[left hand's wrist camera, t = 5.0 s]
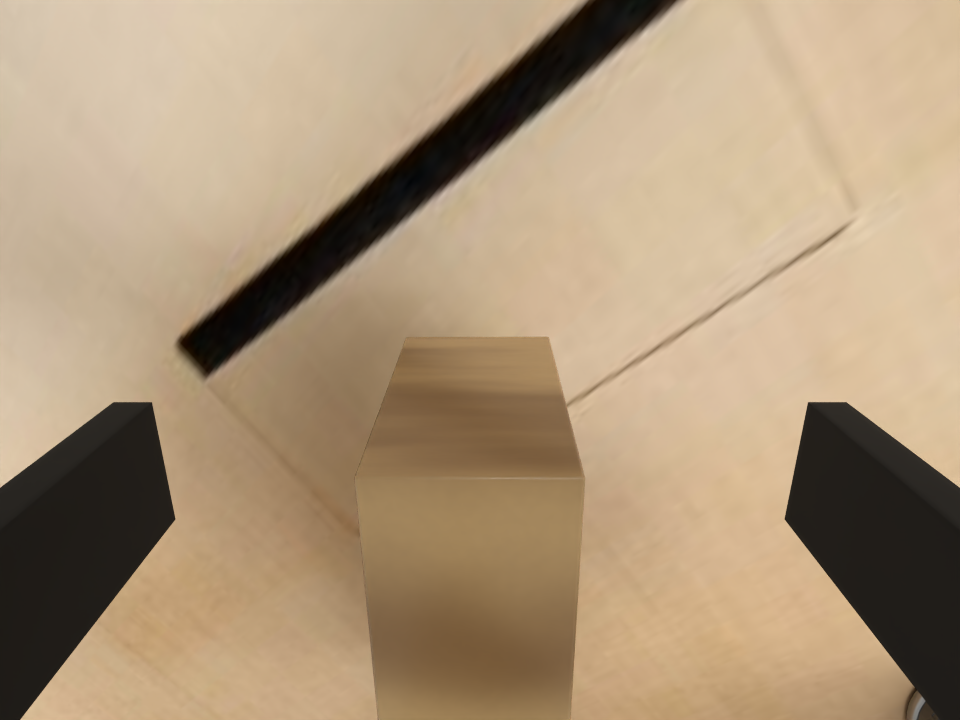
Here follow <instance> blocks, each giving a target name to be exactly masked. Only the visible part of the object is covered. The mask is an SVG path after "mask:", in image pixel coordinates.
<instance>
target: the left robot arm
mask: <svg viewBox="0 0 960 720" xmlns="http://www.w3.org/2000/svg"><path fill="white" fill-rule="evenodd" d="M174 520H175V515H174V510H173V505H172V500H171V495H170V490H169V485H168V480H167V475H166V470H165V465H164V460H163V455H162V450H161V445H160V440H159V435H158V430H157V425H156V420H155V416H154V411H153V406H152V402H113V403H112V404H111V405H109V406H108V407H107V408H105V409H104V410H103V411H101V412H100V413H99V414H97V415H96V416H95V417H94V418H92V419H91V420H90V421H88V422H87V423H86V424H84V425H83V426H82V427H80V428H79V429H78V430H76V431H75V432H74V433H72V434H71V435H70V436H68V437H67V438H66V439H64V440H63V441H62V442H60V443H59V444H58V445H56V446H55V447H54V448H52V449H51V450H50V451H48V452H47V453H46V454H44V455H43V456H42V457H40V458H39V459H38V460H37V461H35V462H34V463H33V464H31V465H30V466H29V467H27V468H26V469H25V470H23V471H22V472H21V473H19V474H18V475H17V476H15V477H14V478H13V479H11V480H10V481H9V482H7V483H6V484H5V485H3V486H2V487H1V488H0V720H20V719H21V718H22V717H23V715H24V714H25V713H26V711H27V710H28V709H29V707H30V706H31V705H32V704H33V702H34V701H35V700H36V698H37V697H38V696H39V695H40V693H41V692H42V691H43V689H44V688H45V687H46V686H47V684H48V683H49V682H50V680H51V679H52V678H53V677H54V675H55V674H56V673H57V671H58V670H59V669H60V667H61V666H62V665H63V664H64V662H65V661H66V660H67V658H68V657H69V656H70V655H71V653H72V652H73V651H74V649H75V648H76V647H77V646H78V644H79V643H80V642H81V640H82V639H83V638H84V636H85V635H86V634H87V633H88V631H89V630H90V629H91V627H92V626H93V625H94V624H95V622H96V621H97V620H98V618H99V617H100V616H101V615H102V613H103V612H104V611H105V609H106V608H107V607H108V606H109V604H110V603H111V602H112V600H113V599H114V598H115V596H116V595H117V594H118V593H119V591H120V590H121V589H122V587H123V586H124V585H125V584H126V582H127V581H128V580H129V578H130V577H131V576H132V575H133V573H134V572H135V571H136V569H137V568H138V567H139V566H140V564H141V563H142V562H143V560H144V559H145V558H146V556H147V555H148V554H149V553H150V551H151V550H152V549H153V547H154V546H155V545H156V544H157V542H158V541H159V540H160V538H161V537H162V536H163V535H164V533H165V532H166V531H167V529H168V528H169V527H170V525H171V524H172V523H173V522H174ZM785 520H786V522H787V523H788V524H789V525H790V527H791V528H792V529H793V531H794V532H795V533H796V535H797V536H798V537H799V538H800V540H801V541H802V542H803V544H804V545H805V546H806V547H807V549H808V550H809V551H810V553H811V554H812V555H813V556H814V558H815V559H816V560H817V562H818V563H819V564H820V566H821V567H822V568H823V569H824V571H825V572H826V573H827V575H828V576H829V577H830V578H831V580H832V581H833V582H834V584H835V585H836V586H837V587H838V589H839V590H840V591H841V593H842V594H843V595H844V596H845V598H846V599H847V600H848V602H849V603H850V604H851V606H852V607H853V608H854V609H855V611H856V612H857V613H858V615H859V616H860V617H861V618H862V620H863V621H864V622H865V624H866V625H867V626H868V627H869V629H870V630H871V631H872V633H873V634H874V635H875V636H876V638H877V639H878V640H879V642H880V643H881V644H882V646H883V647H884V648H885V649H886V651H887V652H888V653H889V655H890V656H891V657H892V658H893V660H894V661H895V662H896V664H897V665H898V666H899V667H900V669H901V670H902V671H903V673H904V674H905V675H906V677H907V678H908V679H909V680H910V682H911V683H912V684H913V686H914V687H915V688H916V689H917V691H918V692H919V693H920V695H921V696H922V697H923V698H924V700H925V701H926V702H927V704H928V705H929V706H930V707H931V709H932V710H933V711H934V713H935V714H936V715H937V717H938V718H939V719H940V720H960V488H959V487H958V486H957V485H955V484H954V483H953V482H951V481H950V480H949V479H947V478H946V477H945V476H943V475H942V474H941V473H939V472H938V471H937V470H935V469H934V468H933V467H931V466H930V465H929V464H927V463H926V462H925V461H923V460H922V459H921V458H920V457H918V456H917V455H916V454H914V453H913V452H912V451H910V450H909V449H908V448H906V447H905V446H904V445H902V444H901V443H900V442H898V441H897V440H896V439H894V438H893V437H892V436H890V435H889V434H888V433H886V432H885V431H884V430H882V429H881V428H880V427H878V426H877V425H876V424H874V423H873V422H872V421H870V420H869V419H868V418H866V417H865V416H864V415H863V414H861V413H860V412H859V411H857V410H856V409H855V408H853V407H852V406H851V405H849V404H848V403H847V402H808V406H807V411H806V415H805V420H804V425H803V430H802V435H801V440H800V445H799V450H798V455H797V460H796V465H795V470H794V475H793V480H792V485H791V490H790V495H789V500H788V505H787V510H786V515H785Z"/></svg>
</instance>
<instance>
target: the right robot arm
mask: <svg viewBox="0 0 960 720" xmlns="http://www.w3.org/2000/svg"><path fill="white" fill-rule="evenodd" d="M907 720H940V719H939V718H938V717H937V715H936V714H935V713H934V711H933V710H932V709H931V707H930V706H929V705H928V704H927V702H926V701H925V700H924V698H923V697H922V696H921V695H920V693H919V692H918V691H917V690H916V692H915V693H914V695H913V696H912V698H911V700H910V703H909V705H908V709H907Z"/></svg>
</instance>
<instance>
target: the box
mask: <svg viewBox="0 0 960 720" xmlns="http://www.w3.org/2000/svg"><path fill="white" fill-rule="evenodd" d="M354 480H355V490H356V500H357V510H358V520H359V531H360V541H361V551H362V561H363V572H364V582H365V592H366V602H367V613H368V623H369V633H370V643H371V653H372V664H373V674H374V684H375V694H376V705H377V715H378V720H570V718H571V701H572V685H573V669H574V652H575V636H576V620H577V603H578V587H579V570H580V554H581V538H582V521H583V505H584V488H585V476H584V472H583V468H582V464H581V460H580V457H579V453H578V449H577V445H576V441H575V437H574V433H573V429H572V426H571V422H570V418H569V414H568V410H567V406H566V402H565V398H564V395H563V391H562V387H561V383H560V379H559V375H558V371H557V367H556V364H555V360H554V356H553V352H552V348H551V344H550V340H549V337H408V338H406V340H405V343H404V345H403V348H402V351H401V353H400V356H399V359H398V361H397V364H396V367H395V370H394V372H393V375H392V378H391V380H390V383H389V386H388V389H387V391H386V394H385V397H384V399H383V402H382V405H381V408H380V410H379V413H378V416H377V418H376V421H375V424H374V427H373V429H372V432H371V435H370V437H369V440H368V443H367V446H366V448H365V451H364V454H363V456H362V459H361V462H360V464H359V467H358V470H357V473H356V475H355V478H354Z"/></svg>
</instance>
